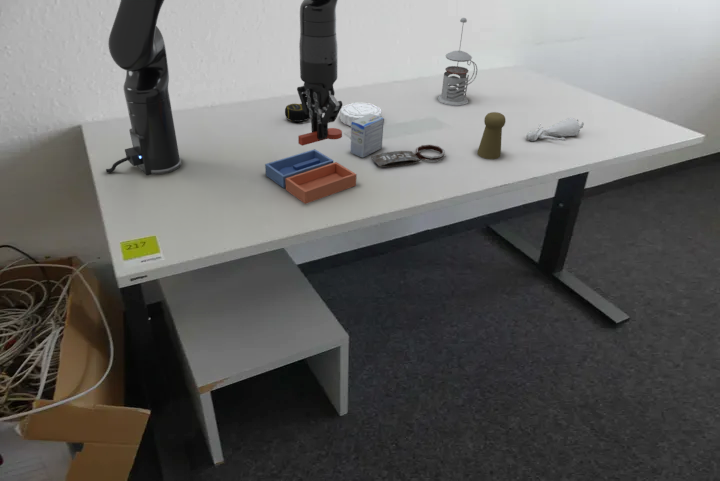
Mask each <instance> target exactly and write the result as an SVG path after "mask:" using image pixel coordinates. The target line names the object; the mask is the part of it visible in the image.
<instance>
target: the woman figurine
mask: <svg viewBox="0 0 720 481" xmlns="http://www.w3.org/2000/svg"><path fill="white" fill-rule="evenodd" d="M584 124H585V123H584V122H583V121H581V124H580V123H579V119H578V118H577V119H575V118H573V117H568V118H566V119H564V120H563V119H562V120H561V121H559V122H556V123H554V124H553V125H551V126H548V127H547V128H544V127H541V125H542V123H541V122H540V123H538V126H537V128H536V130H533V131H532V130H530V131H529V132H527V133H526V135H525V136H526V140H528V141H531V142H534V141H537V140H538V139H541V140H542V139H549V140H558V141H561V142H562V141H563V142H565V141H566V138H565V137H575V136H578V135H579V134H580V132H581V129H584Z"/></svg>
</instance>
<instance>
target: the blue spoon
mask: <svg viewBox="0 0 720 481" xmlns="http://www.w3.org/2000/svg"><path fill="white" fill-rule="evenodd" d="M316 164H320V160H319V159H318V158H314V159H311V160H308V161H305V162H302V163H299V164H296V165H293V168H291V167H286V168H282V169H281V170H280V173H282V174H283V175H285V174H288V173H291V172H295V171H298V170H301V169H304V168H307V167H310V166H313V165H316Z"/></svg>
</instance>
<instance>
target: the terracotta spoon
mask: <svg viewBox="0 0 720 481" xmlns="http://www.w3.org/2000/svg"><path fill="white" fill-rule="evenodd" d="M297 138H298V140H297V142H298V145H300V146H307V145H310V144H314V143H318V142H321V141H325V140H340V139H341V138H343V131H342V130H341V129H340V128H336V127H328V136H327V138H326V139H323V140H319V139H318V138H317V131H315V132H312V131H311V132H308V133H303V134H299V135H298V137H297Z"/></svg>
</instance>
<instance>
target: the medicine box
mask: <svg viewBox="0 0 720 481" xmlns="http://www.w3.org/2000/svg"><path fill="white" fill-rule="evenodd" d="M384 123H385V118H384V117H380V116H377V115H374V114H369V115H366V116H364V117H362V118H359V119H357V120H355V121H353V122H352V124H351V126H350V127H351V129H350V153H351V154H353V155H355V156H357V157H360V158H363V159H364V158H366V157H367V156H369V155H371V154H373V153H375V152H377V151H379V150H381V149H382V148H383V138H384V137H383V136H384V125H385V124H384Z"/></svg>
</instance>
